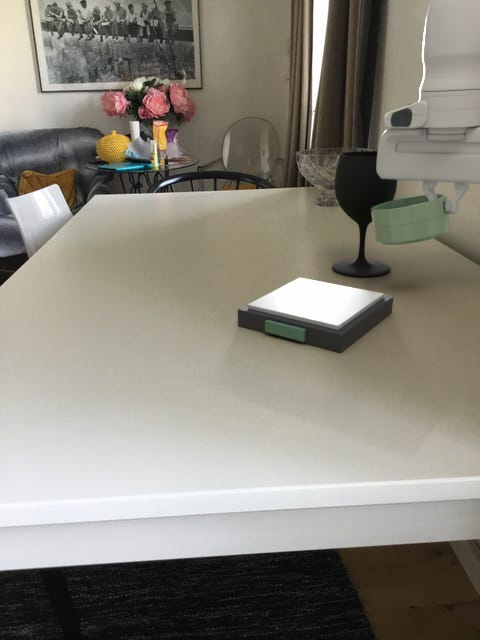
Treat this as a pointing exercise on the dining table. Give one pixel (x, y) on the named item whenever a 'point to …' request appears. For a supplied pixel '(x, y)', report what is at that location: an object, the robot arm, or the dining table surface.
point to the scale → (317, 313)
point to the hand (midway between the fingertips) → (443, 212)
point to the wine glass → (361, 206)
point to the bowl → (410, 220)
